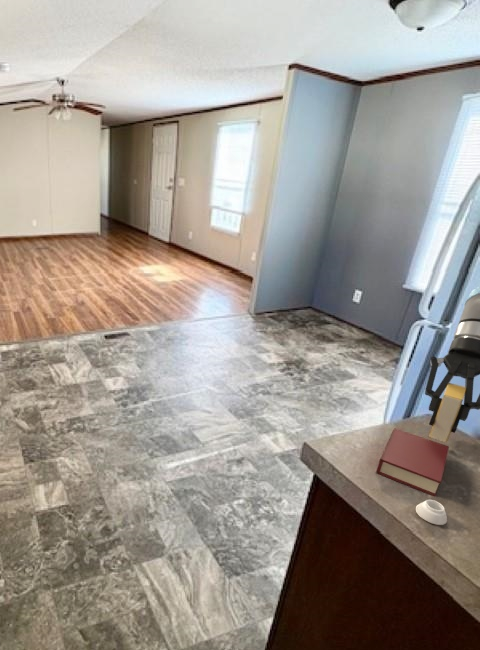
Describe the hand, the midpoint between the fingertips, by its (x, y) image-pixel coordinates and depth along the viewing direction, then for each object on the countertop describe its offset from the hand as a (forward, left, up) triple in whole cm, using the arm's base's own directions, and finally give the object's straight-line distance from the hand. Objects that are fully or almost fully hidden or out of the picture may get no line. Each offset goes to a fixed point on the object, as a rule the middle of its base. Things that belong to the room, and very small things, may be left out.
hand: (442, 426), depth 101 cm
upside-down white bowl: (+11, +24, -7) cm, 27 cm away
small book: (-2, -3, -4) cm, 5 cm away
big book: (+8, +8, -7) cm, 13 cm away
